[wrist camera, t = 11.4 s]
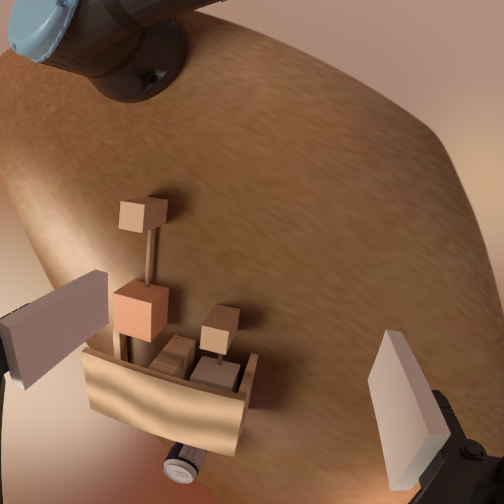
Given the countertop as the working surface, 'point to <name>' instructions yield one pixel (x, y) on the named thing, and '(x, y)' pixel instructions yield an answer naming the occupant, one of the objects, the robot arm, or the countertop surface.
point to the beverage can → (183, 462)
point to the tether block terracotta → (143, 293)
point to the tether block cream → (218, 350)
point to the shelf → (168, 395)
